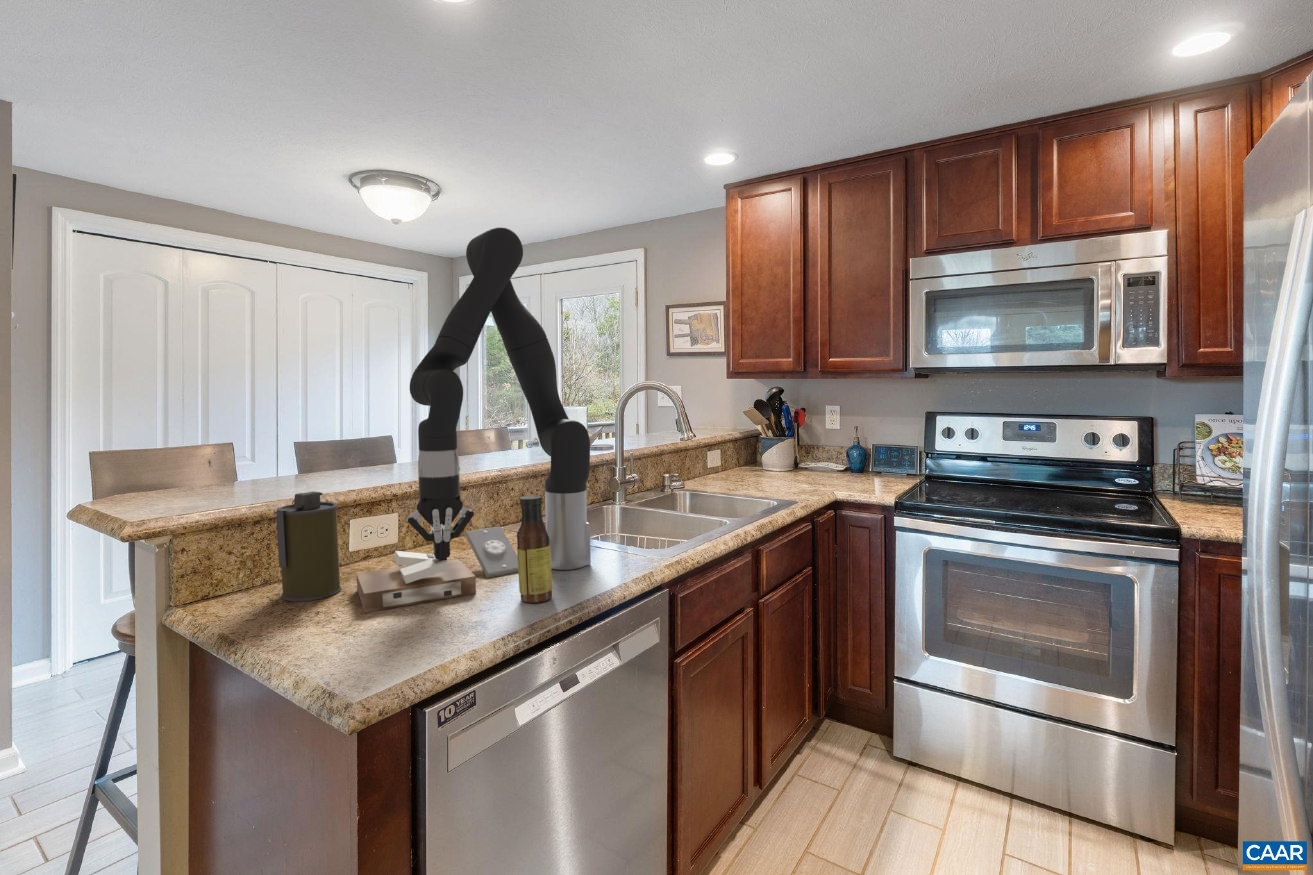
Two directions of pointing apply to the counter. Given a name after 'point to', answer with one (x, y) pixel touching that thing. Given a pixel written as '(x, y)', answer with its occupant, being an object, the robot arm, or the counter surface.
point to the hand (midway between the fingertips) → (441, 560)
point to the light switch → (493, 551)
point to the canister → (308, 548)
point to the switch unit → (413, 587)
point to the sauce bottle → (533, 553)
